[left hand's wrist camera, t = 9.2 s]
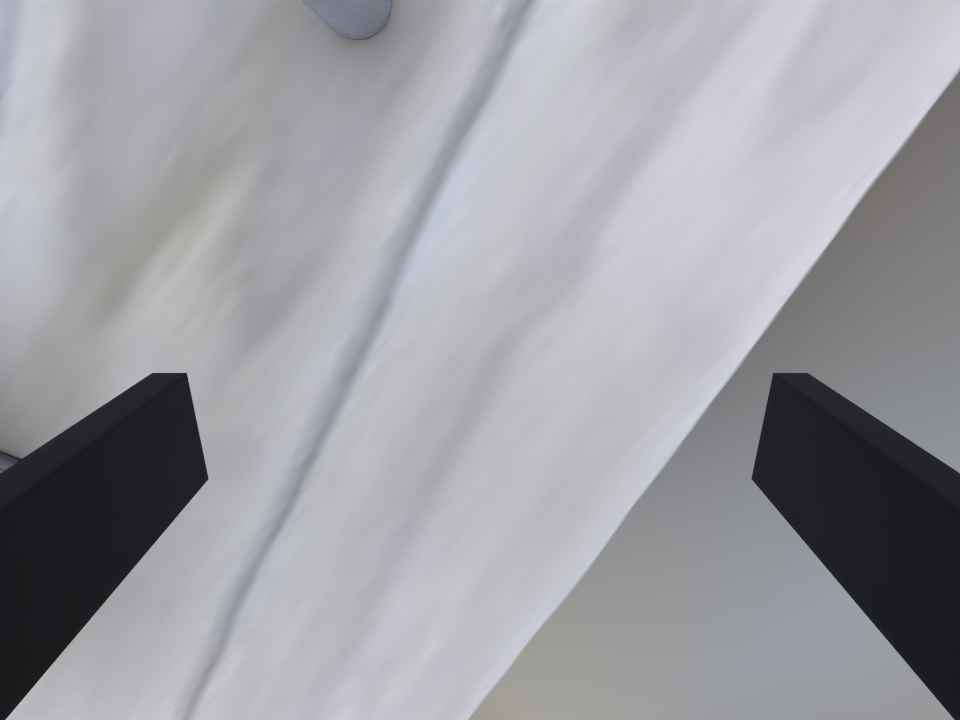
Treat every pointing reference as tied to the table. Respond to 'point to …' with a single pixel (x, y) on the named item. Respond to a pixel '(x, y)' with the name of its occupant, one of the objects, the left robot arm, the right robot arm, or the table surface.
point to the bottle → (352, 15)
